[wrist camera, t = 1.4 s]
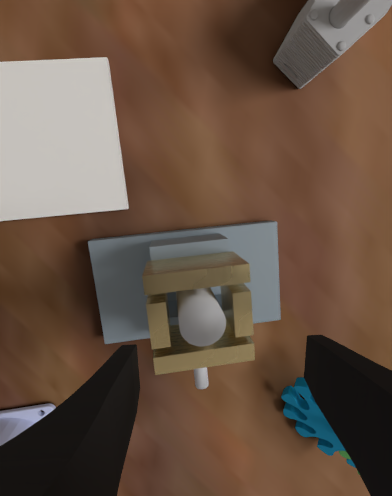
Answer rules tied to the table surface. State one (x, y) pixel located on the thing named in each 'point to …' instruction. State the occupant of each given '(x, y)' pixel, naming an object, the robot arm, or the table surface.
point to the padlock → (325, 35)
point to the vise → (188, 301)
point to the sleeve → (195, 277)
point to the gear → (311, 419)
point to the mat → (59, 139)
